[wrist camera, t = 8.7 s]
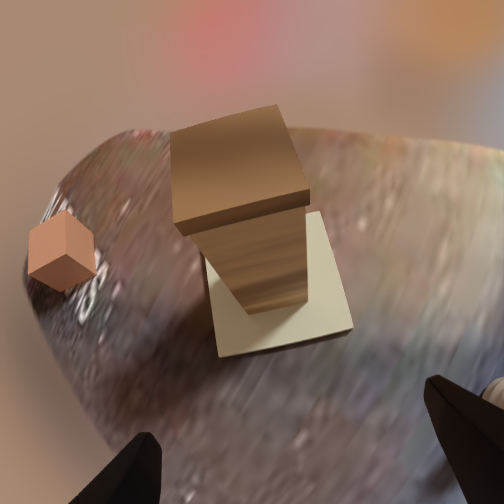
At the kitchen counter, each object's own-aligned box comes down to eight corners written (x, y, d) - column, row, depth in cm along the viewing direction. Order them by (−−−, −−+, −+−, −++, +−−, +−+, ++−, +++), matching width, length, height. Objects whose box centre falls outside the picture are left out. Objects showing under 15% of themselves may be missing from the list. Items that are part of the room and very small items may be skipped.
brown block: (310, 302, 23) (309, 188, 11) (246, 317, 23) (173, 223, 11) (295, 245, 25) (276, 104, 13) (236, 260, 26) (170, 133, 13)
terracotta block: (97, 275, 28) (65, 253, 24) (60, 292, 28) (28, 274, 24) (93, 233, 30) (65, 209, 26) (58, 251, 30) (29, 230, 26)
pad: (352, 329, 22) (353, 327, 22) (220, 357, 23) (218, 357, 23) (319, 214, 27) (319, 210, 26) (205, 241, 27) (202, 238, 27)
